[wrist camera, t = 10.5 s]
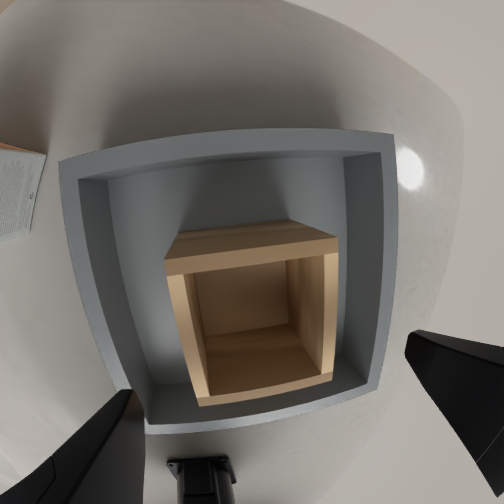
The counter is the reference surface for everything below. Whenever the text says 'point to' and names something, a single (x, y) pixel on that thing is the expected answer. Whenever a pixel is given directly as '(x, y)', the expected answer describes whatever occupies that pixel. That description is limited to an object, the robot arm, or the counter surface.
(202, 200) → the slate gray crate
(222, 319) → the oak crate
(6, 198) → the small box
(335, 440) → the counter surface
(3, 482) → the counter surface
